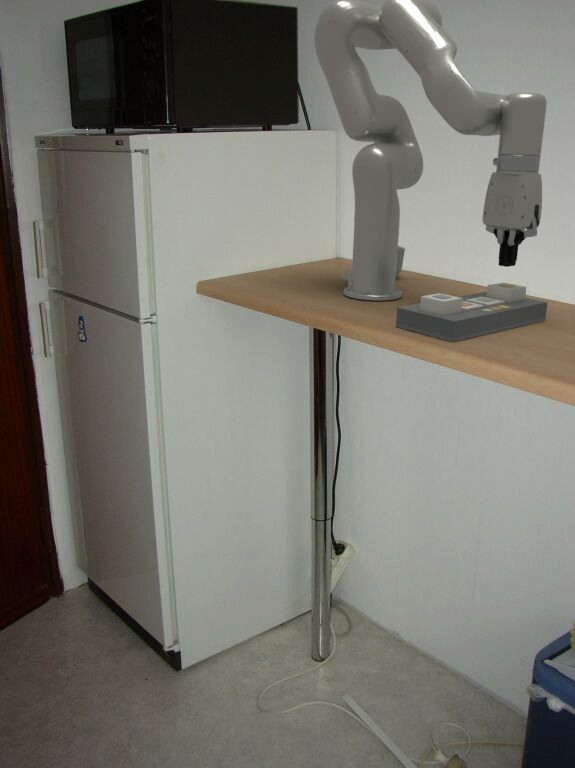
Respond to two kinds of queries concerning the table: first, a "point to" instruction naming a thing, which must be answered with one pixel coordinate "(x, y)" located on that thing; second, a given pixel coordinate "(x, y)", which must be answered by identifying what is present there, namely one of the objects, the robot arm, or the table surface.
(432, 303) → the key slate
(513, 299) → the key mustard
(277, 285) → the table surface
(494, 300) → the key sage
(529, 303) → the keypad base
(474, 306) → the key terracotta
